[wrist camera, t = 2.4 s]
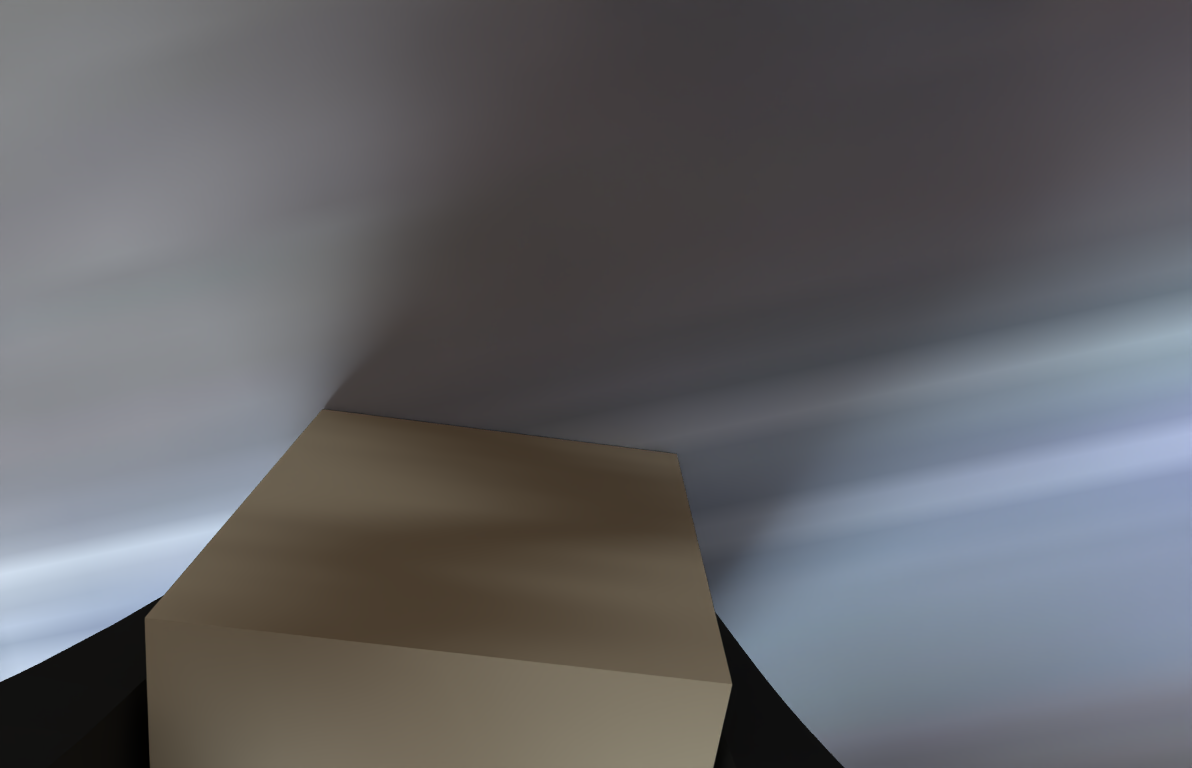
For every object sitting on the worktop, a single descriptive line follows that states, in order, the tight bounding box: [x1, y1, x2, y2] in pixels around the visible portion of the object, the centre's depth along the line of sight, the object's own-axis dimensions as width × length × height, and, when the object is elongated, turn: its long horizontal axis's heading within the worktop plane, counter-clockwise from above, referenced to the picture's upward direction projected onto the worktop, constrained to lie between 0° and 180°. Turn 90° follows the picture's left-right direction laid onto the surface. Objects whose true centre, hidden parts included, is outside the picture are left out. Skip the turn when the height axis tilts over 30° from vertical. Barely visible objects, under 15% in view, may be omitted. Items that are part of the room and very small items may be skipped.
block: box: [145, 409, 732, 768], centre depth 10 cm, size 5×5×5 cm
